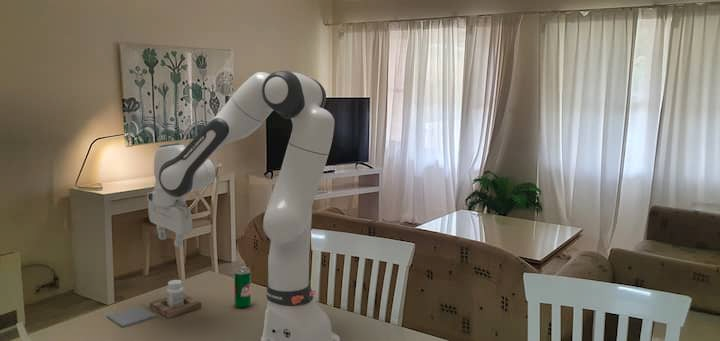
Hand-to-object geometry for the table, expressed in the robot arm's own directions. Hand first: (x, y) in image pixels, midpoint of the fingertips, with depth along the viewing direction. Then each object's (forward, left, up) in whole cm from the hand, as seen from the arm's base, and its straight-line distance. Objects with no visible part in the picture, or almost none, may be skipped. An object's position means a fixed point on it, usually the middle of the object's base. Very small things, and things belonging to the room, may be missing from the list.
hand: (170, 242), depth 164 cm
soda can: (-13, -17, -21) cm, 30 cm away
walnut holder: (0, -1, -21) cm, 21 cm away
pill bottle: (0, -1, -21) cm, 21 cm away
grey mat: (+3, +11, -21) cm, 24 cm away
